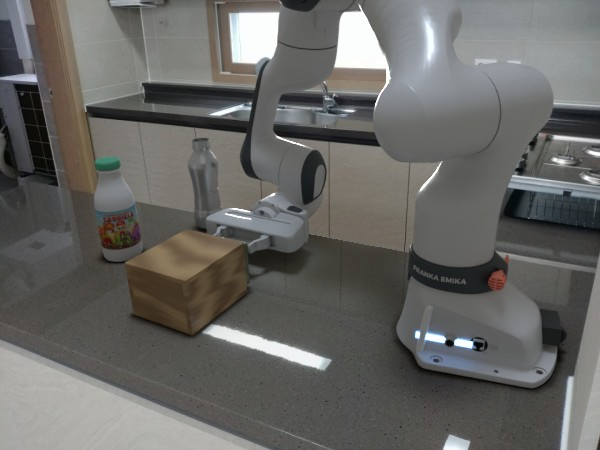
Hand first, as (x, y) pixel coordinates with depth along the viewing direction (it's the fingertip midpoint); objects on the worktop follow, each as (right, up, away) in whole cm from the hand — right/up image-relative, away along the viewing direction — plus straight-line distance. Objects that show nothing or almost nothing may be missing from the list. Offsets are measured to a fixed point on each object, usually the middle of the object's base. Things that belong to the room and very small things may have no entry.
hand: (230, 245), depth 98 cm
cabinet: (-6, -10, -7) cm, 13 cm away
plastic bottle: (-8, +3, +23) cm, 25 cm away
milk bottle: (-23, -2, +12) cm, 26 cm away
